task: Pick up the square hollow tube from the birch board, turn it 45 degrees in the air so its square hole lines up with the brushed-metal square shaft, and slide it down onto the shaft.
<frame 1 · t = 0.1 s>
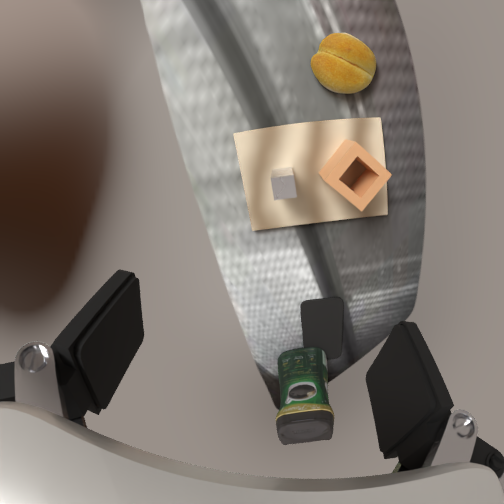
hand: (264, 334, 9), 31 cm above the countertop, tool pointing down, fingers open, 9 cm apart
bread roll: (342, 64, 30), on the countertop
coffee jar: (302, 358, 52), on the countertop
square hollow tube: (348, 169, 35), point 1 cm above the countertop, touching base board
square shaft: (283, 177, 36), resting on base board
phone: (322, 329, 49), on the countertop
base board: (315, 172, 36), on the countertop
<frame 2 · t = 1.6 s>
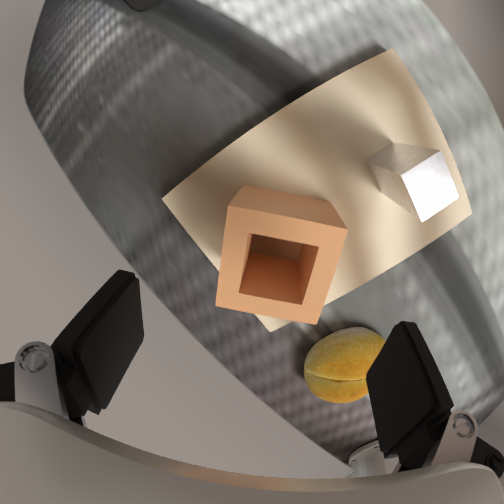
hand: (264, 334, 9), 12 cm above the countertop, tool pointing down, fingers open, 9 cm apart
bread roll: (345, 357, 26), on the countertop
square hollow tube: (279, 234, 20), point 1 cm above the countertop, touching base board
square shaft: (387, 167, 17), resting on base board
base board: (331, 197, 19), on the countertop
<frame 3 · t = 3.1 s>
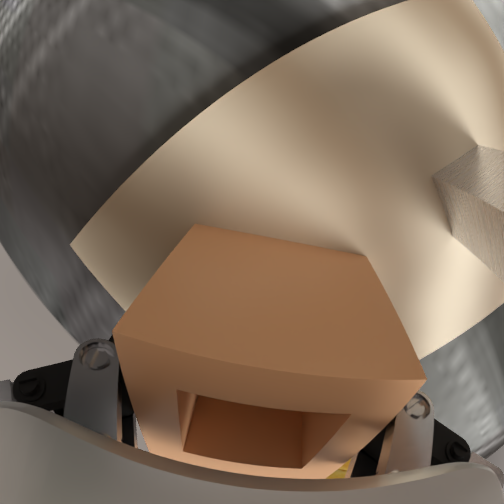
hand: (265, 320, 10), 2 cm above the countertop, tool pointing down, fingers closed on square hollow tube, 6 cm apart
square hollow tube: (266, 311, 11), point 1 cm above the countertop, touching base board, gripper
square shaft: (467, 191, 8), resting on base board
base board: (365, 241, 10), on the countertop
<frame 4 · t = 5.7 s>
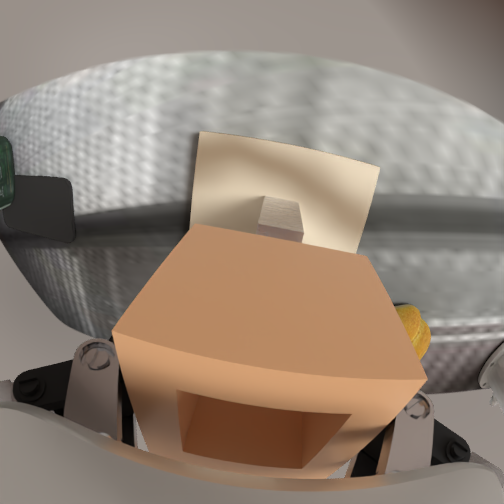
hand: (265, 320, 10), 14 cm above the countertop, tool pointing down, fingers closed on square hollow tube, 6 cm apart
bread roll: (391, 332, 27), on the countertop
coffee jar: (3, 170, 23), on the countertop
square hollow tube: (266, 311, 10), point 13 cm above the countertop, touching gripper
square shaft: (278, 214, 22), resting on base board
phone: (35, 203, 25), on the countertop
base board: (268, 259, 24), on the countertop
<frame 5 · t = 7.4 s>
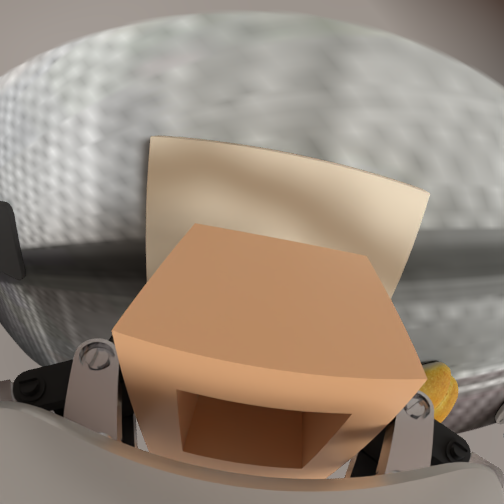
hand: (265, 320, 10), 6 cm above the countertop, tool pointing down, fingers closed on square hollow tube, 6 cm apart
bread roll: (412, 389, 20), on the countertop
square hollow tube: (266, 310, 10), point 5 cm above the countertop, touching gripper
base board: (260, 319, 17), on the countertop
when the fingers open (2 cm above the countertop, at t = 8.5 s): square hollow tube stays where it is, resting on base board.
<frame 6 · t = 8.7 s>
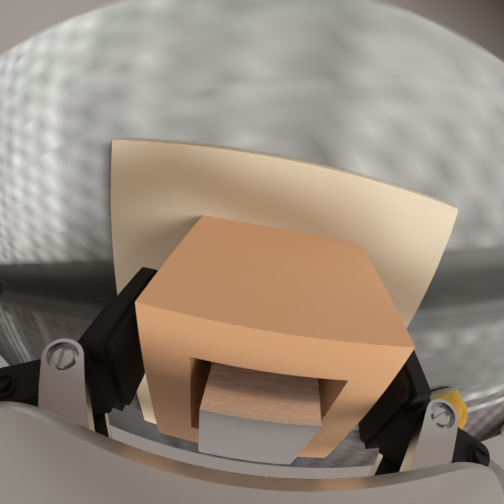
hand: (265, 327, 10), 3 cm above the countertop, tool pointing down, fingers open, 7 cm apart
bread roll: (419, 413, 17), on the countertop
square hollow tube: (268, 297, 11), point 1 cm above the countertop, touching base board
square shaft: (267, 296, 11), resting on base board
base board: (252, 353, 14), on the countertop
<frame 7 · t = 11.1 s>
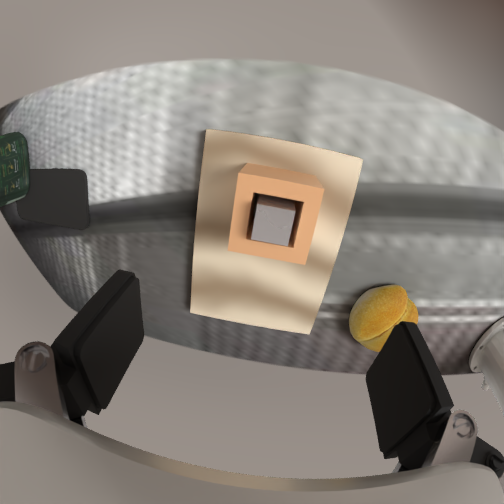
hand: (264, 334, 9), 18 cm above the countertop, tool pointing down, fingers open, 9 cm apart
bread roll: (381, 312, 31), on the countertop
coffee jar: (18, 165, 26), on the countertop
square hollow tube: (275, 200, 25), point 1 cm above the countertop, touching base board
square shaft: (274, 200, 25), resting on base board
phone: (49, 195, 28), on the countertop
base board: (266, 241, 28), on the countertop
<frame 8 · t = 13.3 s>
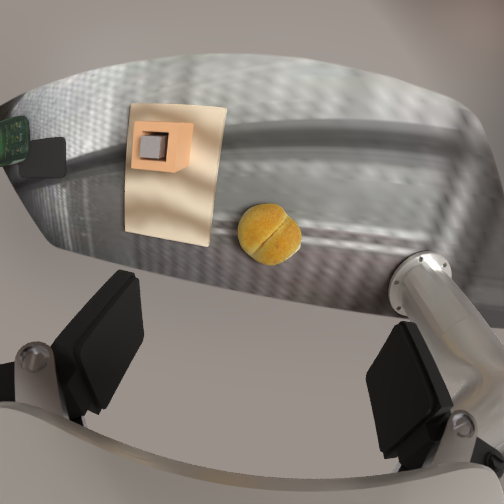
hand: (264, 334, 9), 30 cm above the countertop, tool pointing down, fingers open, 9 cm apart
bread roll: (270, 231, 41), on the countertop
coffee jar: (21, 138, 36), on the countertop
square hollow tube: (170, 142, 35), point 1 cm above the countertop, touching base board
square shaft: (170, 142, 35), resting on base board
phone: (42, 157, 38), on the countertop
base board: (170, 172, 38), on the countertop
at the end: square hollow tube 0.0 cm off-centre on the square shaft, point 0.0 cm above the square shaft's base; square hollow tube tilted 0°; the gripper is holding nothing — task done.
